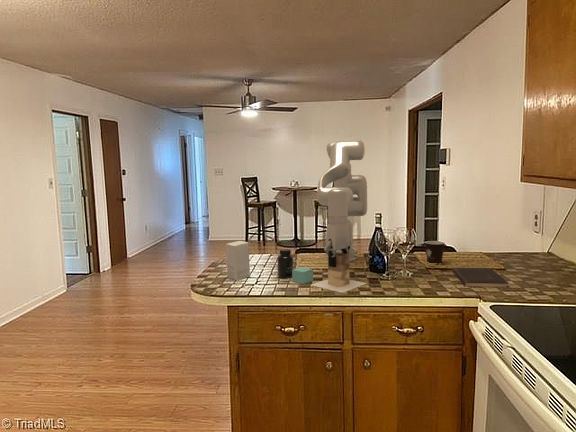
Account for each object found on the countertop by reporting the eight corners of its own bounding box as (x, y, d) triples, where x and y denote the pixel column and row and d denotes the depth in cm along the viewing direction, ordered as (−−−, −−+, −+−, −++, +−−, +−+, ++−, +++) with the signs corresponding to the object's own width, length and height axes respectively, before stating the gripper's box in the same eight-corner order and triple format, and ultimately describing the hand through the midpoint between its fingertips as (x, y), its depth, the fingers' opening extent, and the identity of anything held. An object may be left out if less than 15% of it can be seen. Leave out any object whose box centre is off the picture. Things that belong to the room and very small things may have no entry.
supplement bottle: (291, 279, 187) (291, 251, 186) (276, 278, 189) (275, 251, 187) (294, 274, 194) (294, 248, 192) (279, 274, 195) (279, 248, 194)
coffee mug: (446, 265, 204) (447, 244, 202) (428, 265, 204) (428, 244, 202) (438, 259, 215) (438, 239, 214) (420, 259, 215) (421, 239, 214)
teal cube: (302, 280, 184) (302, 267, 183) (313, 283, 180) (312, 269, 179) (292, 284, 180) (292, 269, 179) (303, 286, 176) (302, 272, 175)
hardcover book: (490, 273, 190) (491, 267, 190) (508, 288, 167) (508, 282, 167) (452, 272, 193) (452, 267, 192) (464, 287, 170) (464, 282, 170)
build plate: (335, 278, 186) (335, 276, 185) (367, 285, 174) (367, 283, 174) (310, 287, 174) (310, 284, 174) (342, 295, 163) (342, 292, 163)
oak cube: (337, 281, 178) (337, 266, 178) (349, 283, 174) (349, 269, 174) (328, 284, 174) (327, 269, 174) (340, 287, 170) (339, 272, 169)
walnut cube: (337, 266, 178) (337, 252, 177) (349, 269, 174) (349, 254, 173) (327, 269, 174) (327, 254, 173) (339, 271, 169) (339, 256, 169)
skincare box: (241, 274, 197) (240, 240, 195) (251, 276, 193) (249, 242, 191) (226, 278, 191) (225, 243, 189) (236, 280, 187) (234, 245, 185)
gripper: (343, 217, 180) (344, 259, 182) (316, 222, 168) (316, 267, 170) (359, 218, 174) (359, 262, 177) (331, 224, 162) (332, 270, 165)
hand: (338, 264), depth 173 cm, fingers open, 7 cm apart
